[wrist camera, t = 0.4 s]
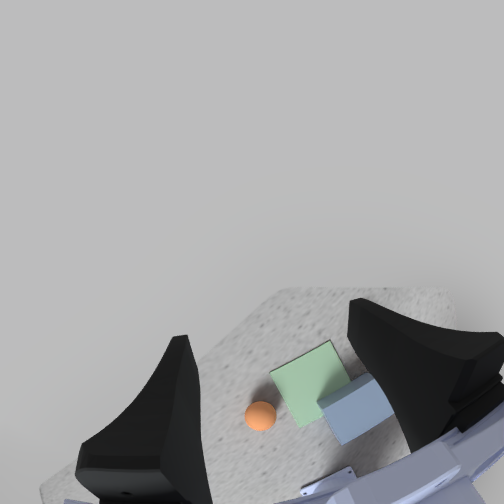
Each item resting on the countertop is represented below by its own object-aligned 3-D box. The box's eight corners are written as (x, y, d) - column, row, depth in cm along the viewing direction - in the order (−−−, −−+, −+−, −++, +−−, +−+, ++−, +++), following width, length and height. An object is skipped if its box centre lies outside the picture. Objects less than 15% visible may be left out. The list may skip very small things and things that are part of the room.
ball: (281, 418, 35) (282, 426, 31) (254, 430, 34) (252, 439, 30) (267, 393, 36) (267, 399, 32) (240, 405, 35) (237, 413, 32)
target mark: (358, 395, 35) (358, 395, 34) (299, 427, 34) (299, 428, 34) (329, 340, 37) (329, 340, 37) (269, 372, 36) (269, 373, 36)
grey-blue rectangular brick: (382, 405, 34) (395, 412, 29) (333, 434, 33) (341, 445, 28) (365, 372, 36) (378, 376, 31) (315, 401, 35) (322, 409, 30)
